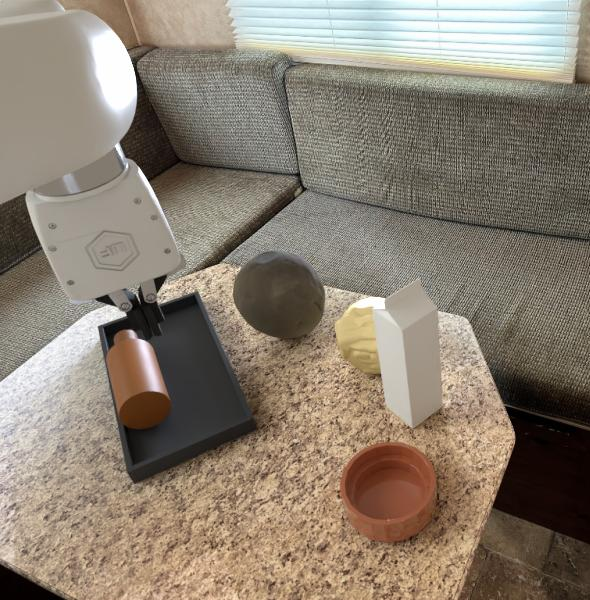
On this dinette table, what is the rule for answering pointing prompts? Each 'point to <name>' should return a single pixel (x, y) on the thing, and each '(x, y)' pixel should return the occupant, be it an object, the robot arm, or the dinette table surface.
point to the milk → (409, 353)
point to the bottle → (137, 382)
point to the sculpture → (359, 336)
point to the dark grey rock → (279, 294)
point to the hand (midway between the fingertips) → (152, 329)
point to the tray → (184, 391)
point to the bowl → (389, 491)
